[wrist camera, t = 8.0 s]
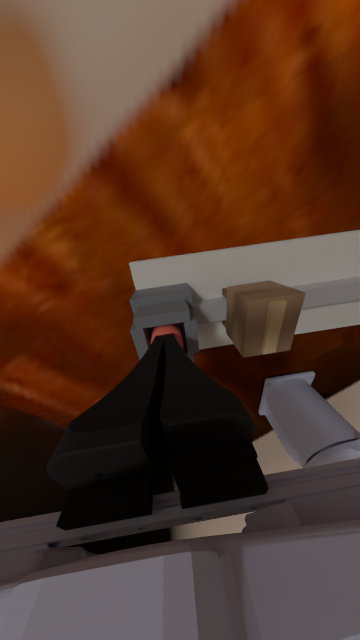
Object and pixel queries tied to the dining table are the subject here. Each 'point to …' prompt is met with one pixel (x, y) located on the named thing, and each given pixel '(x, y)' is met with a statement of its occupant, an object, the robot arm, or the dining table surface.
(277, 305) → the block
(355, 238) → the rail track
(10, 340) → the dining table surface
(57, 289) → the dining table surface
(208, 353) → the dining table surface
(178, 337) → the button
